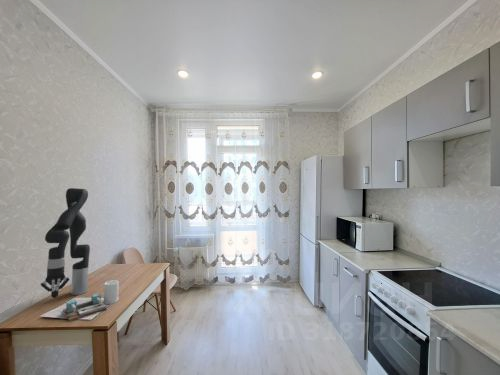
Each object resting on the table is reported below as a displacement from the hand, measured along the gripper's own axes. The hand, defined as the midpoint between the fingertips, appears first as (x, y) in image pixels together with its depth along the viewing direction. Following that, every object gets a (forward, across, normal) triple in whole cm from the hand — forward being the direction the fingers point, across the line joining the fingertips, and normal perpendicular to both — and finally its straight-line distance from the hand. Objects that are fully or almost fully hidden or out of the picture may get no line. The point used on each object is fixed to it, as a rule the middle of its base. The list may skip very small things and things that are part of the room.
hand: (54, 297), depth 130 cm
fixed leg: (+10, -21, +2) cm, 23 cm away
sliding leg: (+10, -8, +2) cm, 13 cm away
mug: (+11, -30, -1) cm, 32 cm away
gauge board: (+11, -14, +3) cm, 18 cm away
